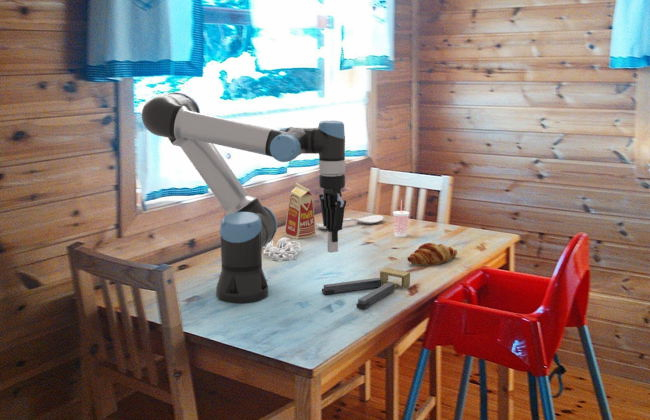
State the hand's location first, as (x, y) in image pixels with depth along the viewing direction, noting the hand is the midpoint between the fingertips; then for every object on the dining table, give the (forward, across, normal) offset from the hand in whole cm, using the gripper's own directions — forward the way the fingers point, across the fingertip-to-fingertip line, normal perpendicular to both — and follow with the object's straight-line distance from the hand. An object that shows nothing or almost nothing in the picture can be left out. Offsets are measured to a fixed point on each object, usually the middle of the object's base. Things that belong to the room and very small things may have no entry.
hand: (332, 251), depth 220 cm
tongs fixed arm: (+11, -14, -7) cm, 19 cm away
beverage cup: (+11, +41, -51) cm, 66 cm away
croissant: (+12, +7, -42) cm, 44 cm away
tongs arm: (+11, -6, -3) cm, 13 cm away
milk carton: (+11, +58, -17) cm, 61 cm away
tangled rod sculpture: (+11, +40, -1) cm, 42 cm away
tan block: (+11, -8, -17) cm, 22 cm away
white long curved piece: (+11, +63, -40) cm, 75 cm away
